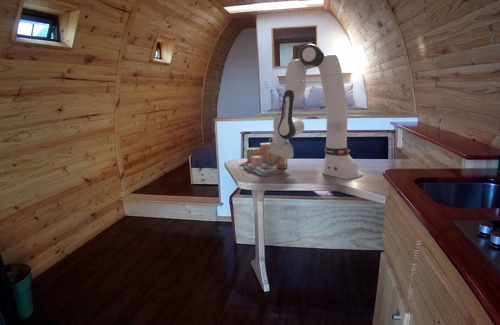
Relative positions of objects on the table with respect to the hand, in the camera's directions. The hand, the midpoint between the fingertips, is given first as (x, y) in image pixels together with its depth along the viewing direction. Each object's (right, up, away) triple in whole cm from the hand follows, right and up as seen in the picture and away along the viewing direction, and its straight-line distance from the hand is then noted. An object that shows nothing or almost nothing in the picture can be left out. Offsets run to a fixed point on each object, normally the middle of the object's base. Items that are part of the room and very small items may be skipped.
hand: (281, 163), depth 189 cm
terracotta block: (0, -3, +1) cm, 3 cm away
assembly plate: (-12, -5, -5) cm, 14 cm away
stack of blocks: (-10, +1, +18) cm, 20 cm away
